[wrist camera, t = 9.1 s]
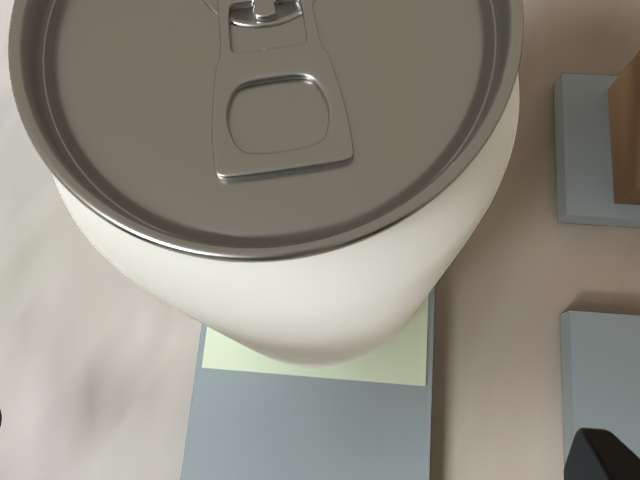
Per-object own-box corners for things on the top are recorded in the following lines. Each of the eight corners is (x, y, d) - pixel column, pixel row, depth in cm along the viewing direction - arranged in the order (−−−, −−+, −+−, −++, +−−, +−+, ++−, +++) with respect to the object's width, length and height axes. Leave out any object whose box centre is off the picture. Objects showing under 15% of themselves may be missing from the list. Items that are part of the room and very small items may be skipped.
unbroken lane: (424, 512, 17) (428, 518, 16) (186, 488, 17) (177, 493, 16) (437, 81, 20) (442, 66, 19) (241, 71, 21) (237, 57, 20)
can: (403, 152, 19) (494, -252, 7) (441, 354, 17) (645, 254, 5) (206, 180, 19) (-24, -175, 7) (223, 384, 17) (-46, 351, 5)
